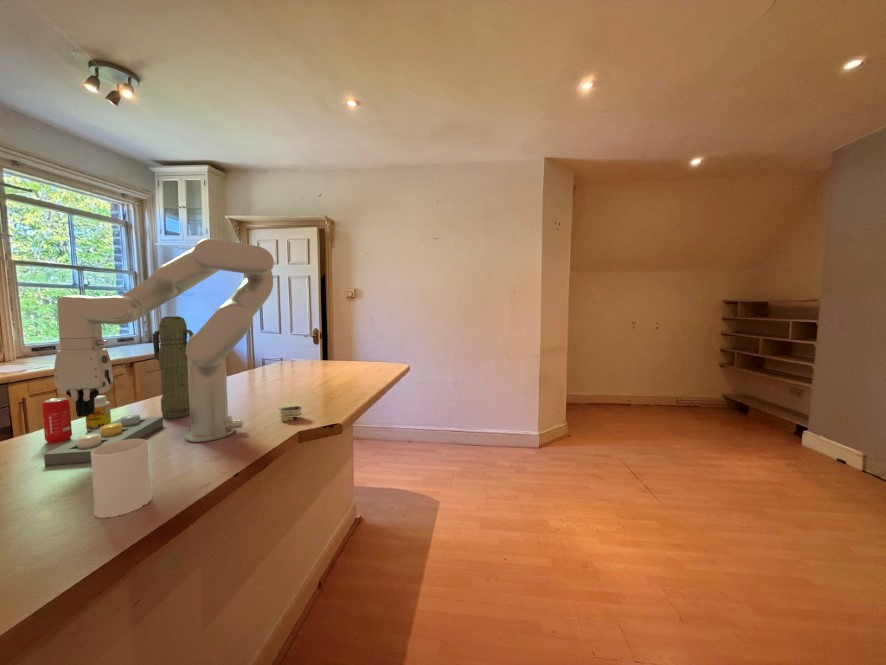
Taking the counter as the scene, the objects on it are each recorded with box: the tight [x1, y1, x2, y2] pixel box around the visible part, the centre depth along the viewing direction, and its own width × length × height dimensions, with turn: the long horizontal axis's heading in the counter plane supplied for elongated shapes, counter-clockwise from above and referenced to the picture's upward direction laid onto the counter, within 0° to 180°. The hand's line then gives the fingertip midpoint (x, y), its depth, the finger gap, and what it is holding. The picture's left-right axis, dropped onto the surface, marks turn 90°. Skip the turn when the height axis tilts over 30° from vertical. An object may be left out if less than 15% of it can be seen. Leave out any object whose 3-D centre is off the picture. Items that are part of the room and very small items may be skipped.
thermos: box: [152, 316, 195, 420], centre depth 121 cm, size 9×12×35 cm
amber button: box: [100, 423, 122, 437], centre depth 97 cm, size 4×4×3 cm
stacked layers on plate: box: [278, 401, 303, 422], centre depth 119 cm, size 10×9×6 cm
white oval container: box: [90, 438, 153, 519], centre depth 69 cm, size 12×8×12 cm
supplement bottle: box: [85, 395, 112, 432], centre depth 108 cm, size 6×6×10 cm
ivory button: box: [76, 434, 102, 449], centre depth 90 cm, size 4×4×3 cm
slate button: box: [119, 414, 141, 426], centre depth 105 cm, size 4×4×3 cm
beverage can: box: [41, 397, 73, 445], centre depth 98 cm, size 5×5×12 cm
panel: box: [43, 416, 164, 467], centre depth 97 cm, size 12×26×3 cm, turn 13°
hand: (85, 414), depth 89 cm, fingers closed
